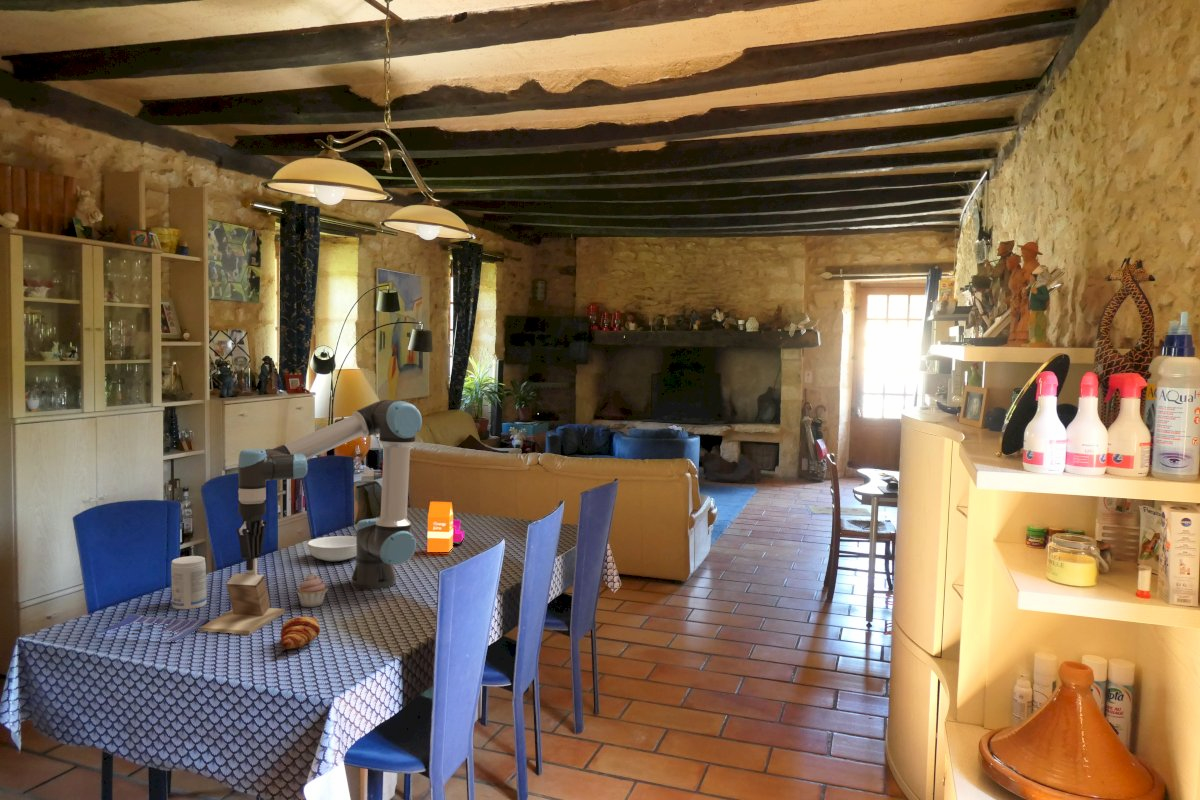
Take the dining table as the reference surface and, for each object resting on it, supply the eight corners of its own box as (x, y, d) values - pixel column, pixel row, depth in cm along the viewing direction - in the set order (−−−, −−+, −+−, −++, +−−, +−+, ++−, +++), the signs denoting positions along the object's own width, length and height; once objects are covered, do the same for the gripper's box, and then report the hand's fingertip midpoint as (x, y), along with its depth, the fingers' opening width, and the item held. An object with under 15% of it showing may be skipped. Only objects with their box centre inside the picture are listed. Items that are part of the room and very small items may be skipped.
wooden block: (270, 605, 245) (263, 574, 240) (262, 616, 240) (255, 585, 236) (242, 603, 246) (234, 573, 241) (233, 614, 241) (226, 583, 237)
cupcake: (318, 610, 250) (318, 578, 250) (290, 608, 252) (290, 576, 252) (333, 601, 260) (333, 570, 259) (306, 599, 261) (306, 568, 261)
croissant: (306, 639, 233) (291, 615, 233) (336, 621, 233) (321, 597, 233) (276, 665, 212) (260, 639, 212) (309, 646, 212) (293, 620, 212)
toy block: (460, 544, 342) (461, 526, 341) (445, 544, 341) (446, 526, 341) (465, 536, 357) (466, 519, 356) (451, 536, 356) (451, 519, 356)
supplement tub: (206, 600, 258) (206, 554, 257) (206, 608, 249) (206, 561, 249) (172, 603, 254) (171, 557, 253) (170, 612, 245) (170, 564, 244)
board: (284, 612, 247) (284, 608, 247) (249, 634, 228) (249, 630, 227) (237, 610, 249) (237, 606, 249) (199, 631, 229) (199, 627, 229)
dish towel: (132, 621, 238) (132, 612, 238) (210, 625, 236) (210, 615, 236) (91, 642, 221) (91, 632, 221) (175, 646, 219) (175, 636, 219)
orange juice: (449, 553, 326) (449, 503, 324) (427, 552, 326) (427, 503, 325) (452, 548, 333) (453, 500, 332) (431, 548, 334) (432, 499, 332)
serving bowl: (372, 553, 323) (372, 536, 322) (351, 567, 302) (351, 548, 301) (322, 551, 325) (322, 534, 324) (297, 564, 304) (297, 546, 303)
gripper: (251, 497, 248) (251, 573, 249) (227, 504, 235) (227, 585, 236) (275, 498, 247) (274, 575, 249) (252, 506, 234) (252, 586, 236)
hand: (251, 579), depth 242 cm, fingers closed
